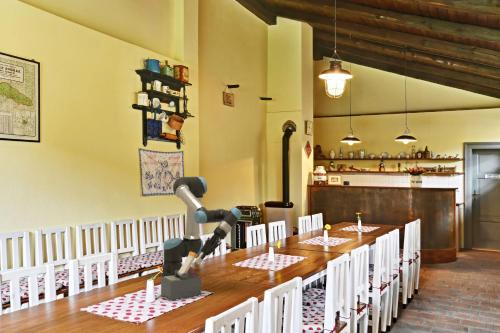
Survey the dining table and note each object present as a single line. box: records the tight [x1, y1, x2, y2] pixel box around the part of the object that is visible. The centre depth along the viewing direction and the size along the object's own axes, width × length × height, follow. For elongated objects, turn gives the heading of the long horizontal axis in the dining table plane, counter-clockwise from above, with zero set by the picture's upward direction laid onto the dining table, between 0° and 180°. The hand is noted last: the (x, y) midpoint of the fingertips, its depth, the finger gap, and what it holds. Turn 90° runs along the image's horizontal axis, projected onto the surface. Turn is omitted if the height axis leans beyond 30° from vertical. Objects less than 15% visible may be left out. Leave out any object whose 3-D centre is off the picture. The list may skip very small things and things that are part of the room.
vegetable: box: [187, 266, 198, 276], centre depth 267 cm, size 10×10×15 cm
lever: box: [177, 251, 198, 277], centre depth 248 cm, size 7×2×14 cm
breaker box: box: [160, 270, 202, 301], centre depth 246 cm, size 13×18×13 cm
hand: (196, 263), depth 249 cm, fingers closed
